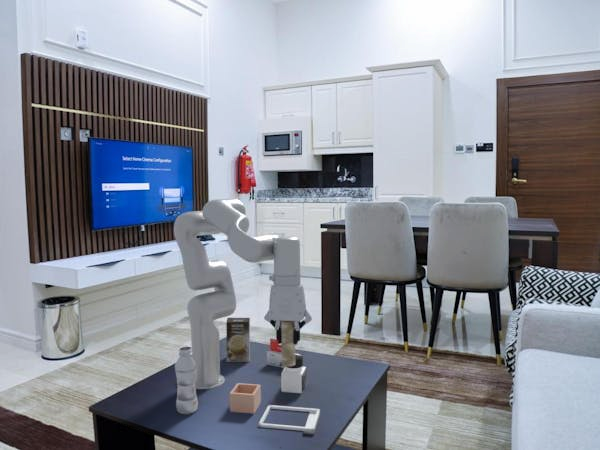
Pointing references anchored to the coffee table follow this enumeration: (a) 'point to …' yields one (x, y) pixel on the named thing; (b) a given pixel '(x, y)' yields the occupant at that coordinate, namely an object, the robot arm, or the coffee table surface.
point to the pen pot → (245, 398)
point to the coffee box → (238, 339)
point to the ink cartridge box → (274, 354)
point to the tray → (308, 428)
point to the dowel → (287, 343)
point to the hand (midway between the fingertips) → (288, 342)
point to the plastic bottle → (186, 382)
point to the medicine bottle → (294, 377)
